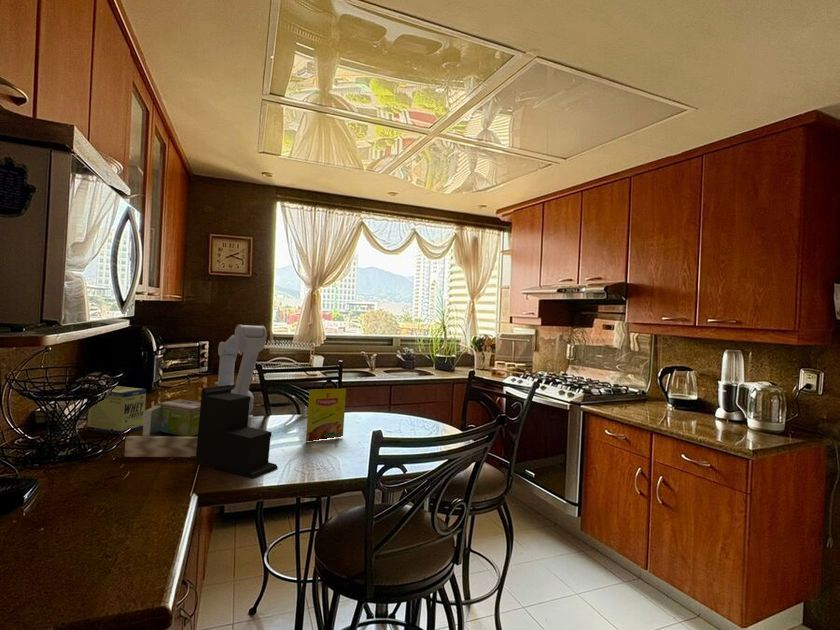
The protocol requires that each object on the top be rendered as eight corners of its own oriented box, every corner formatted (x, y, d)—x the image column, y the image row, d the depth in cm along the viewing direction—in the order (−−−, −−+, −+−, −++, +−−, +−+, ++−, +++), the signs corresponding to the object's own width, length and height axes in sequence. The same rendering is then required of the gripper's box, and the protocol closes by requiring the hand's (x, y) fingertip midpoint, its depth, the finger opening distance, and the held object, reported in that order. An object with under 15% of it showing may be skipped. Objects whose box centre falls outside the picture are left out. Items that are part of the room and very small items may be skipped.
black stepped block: (278, 469, 134) (283, 392, 135) (252, 479, 124) (258, 397, 125) (223, 455, 144) (228, 384, 144) (194, 464, 134) (200, 387, 134)
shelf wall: (214, 455, 143) (216, 436, 143) (213, 457, 141) (214, 438, 141) (127, 454, 138) (128, 435, 138) (124, 456, 136) (125, 437, 136)
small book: (159, 446, 148) (162, 405, 148) (148, 454, 139) (151, 411, 139) (152, 446, 148) (155, 405, 148) (141, 454, 139) (144, 410, 139)
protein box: (120, 435, 158) (124, 392, 159) (85, 430, 162) (89, 388, 162) (144, 429, 169) (147, 388, 169) (110, 424, 172) (114, 385, 172)
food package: (306, 443, 163) (310, 389, 164) (305, 442, 164) (308, 389, 165) (343, 439, 172) (346, 388, 173) (342, 438, 173) (345, 388, 174)
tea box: (152, 445, 149) (155, 402, 149) (176, 439, 158) (179, 398, 159) (187, 452, 144) (191, 407, 145) (210, 444, 154) (213, 403, 154)
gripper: (220, 369, 183) (218, 401, 183) (210, 373, 169) (208, 408, 168) (238, 370, 184) (235, 402, 184) (230, 374, 170) (227, 409, 170)
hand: (224, 405), depth 176 cm, fingers closed
